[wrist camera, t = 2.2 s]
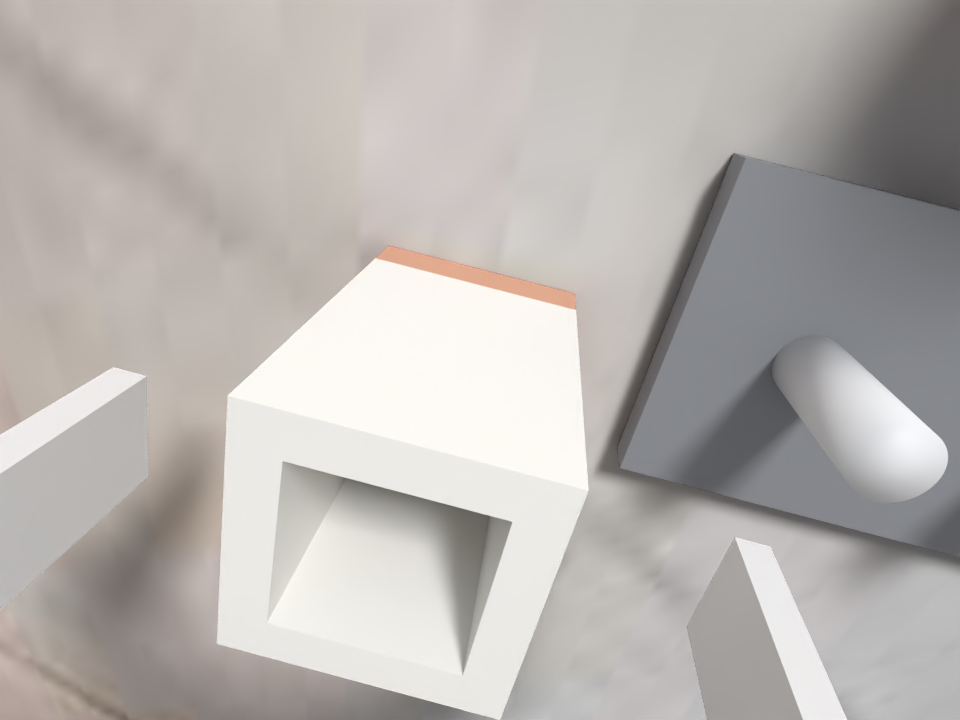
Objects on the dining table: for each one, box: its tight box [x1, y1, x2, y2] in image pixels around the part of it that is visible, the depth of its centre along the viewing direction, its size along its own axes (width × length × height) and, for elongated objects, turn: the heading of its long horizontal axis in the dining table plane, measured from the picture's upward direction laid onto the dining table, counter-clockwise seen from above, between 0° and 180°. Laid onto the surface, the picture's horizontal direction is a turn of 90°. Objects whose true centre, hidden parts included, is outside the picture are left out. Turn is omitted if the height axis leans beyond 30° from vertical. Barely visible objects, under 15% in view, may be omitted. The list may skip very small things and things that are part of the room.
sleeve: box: [217, 246, 588, 720], centre depth 15 cm, size 6×6×10 cm
